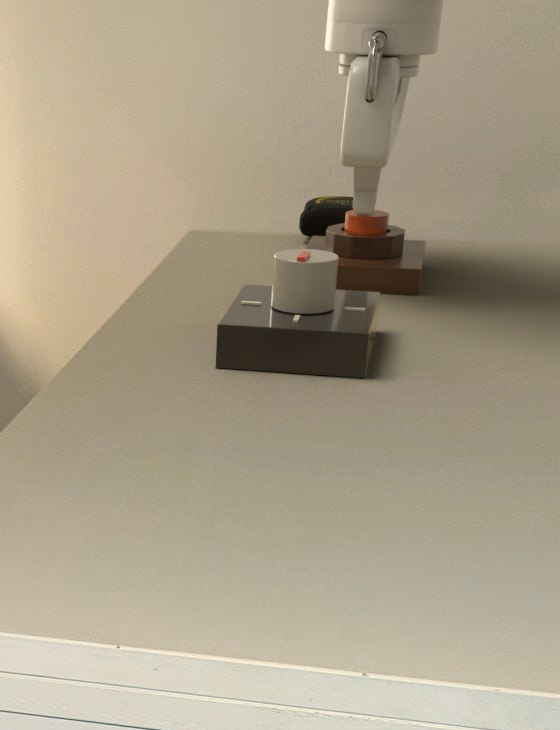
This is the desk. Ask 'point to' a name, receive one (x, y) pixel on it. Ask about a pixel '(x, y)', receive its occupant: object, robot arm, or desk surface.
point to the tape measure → (324, 214)
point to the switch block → (374, 260)
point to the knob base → (298, 335)
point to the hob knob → (304, 281)
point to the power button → (366, 222)
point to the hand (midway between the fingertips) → (364, 210)
